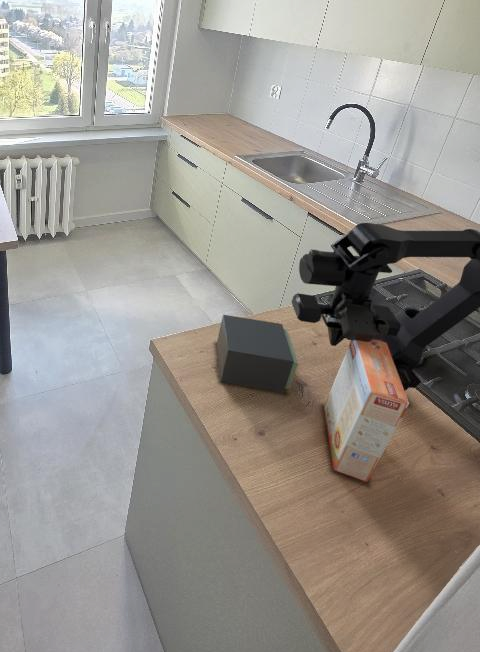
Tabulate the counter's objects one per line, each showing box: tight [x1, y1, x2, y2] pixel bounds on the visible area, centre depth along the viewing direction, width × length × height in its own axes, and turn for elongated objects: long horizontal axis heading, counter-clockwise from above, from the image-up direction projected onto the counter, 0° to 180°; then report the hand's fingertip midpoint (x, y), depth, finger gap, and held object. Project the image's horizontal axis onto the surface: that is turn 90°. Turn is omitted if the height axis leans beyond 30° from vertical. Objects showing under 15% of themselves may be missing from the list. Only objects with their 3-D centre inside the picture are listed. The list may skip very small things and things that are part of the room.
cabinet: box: [216, 314, 294, 394], centre depth 95 cm, size 13×11×9 cm
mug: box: [394, 306, 425, 366], centre depth 102 cm, size 12×9×11 cm
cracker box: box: [323, 339, 410, 483], centre depth 77 cm, size 14×6×21 cm, turn 160°
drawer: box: [284, 328, 299, 390], centre depth 94 cm, size 14×10×8 cm
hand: (332, 344), depth 88 cm, fingers closed
